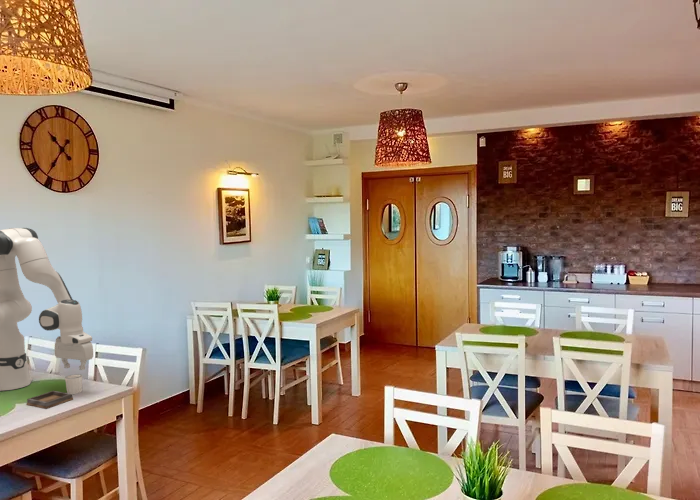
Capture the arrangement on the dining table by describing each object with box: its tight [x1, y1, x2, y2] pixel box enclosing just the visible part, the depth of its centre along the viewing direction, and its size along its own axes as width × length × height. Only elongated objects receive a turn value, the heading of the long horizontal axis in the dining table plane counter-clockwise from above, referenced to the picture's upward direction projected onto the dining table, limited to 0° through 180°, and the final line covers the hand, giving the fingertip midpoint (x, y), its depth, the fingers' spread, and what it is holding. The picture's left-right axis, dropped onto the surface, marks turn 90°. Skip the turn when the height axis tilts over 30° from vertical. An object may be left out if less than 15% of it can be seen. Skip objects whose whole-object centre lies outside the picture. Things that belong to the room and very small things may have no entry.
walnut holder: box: [26, 390, 74, 410], centre depth 225 cm, size 12×12×2 cm
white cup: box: [64, 373, 83, 395], centre depth 237 cm, size 7×7×7 cm
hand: (74, 368), depth 236 cm, fingers open, 8 cm apart
